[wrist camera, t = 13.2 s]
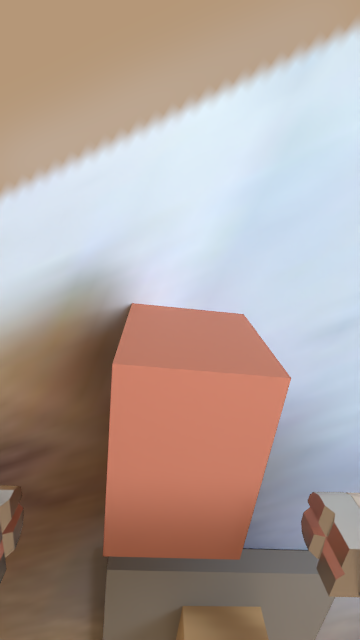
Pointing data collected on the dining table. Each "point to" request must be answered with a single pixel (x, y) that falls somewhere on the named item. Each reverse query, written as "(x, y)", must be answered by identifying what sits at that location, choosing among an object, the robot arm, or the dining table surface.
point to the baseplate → (214, 593)
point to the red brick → (188, 433)
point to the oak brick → (221, 623)
